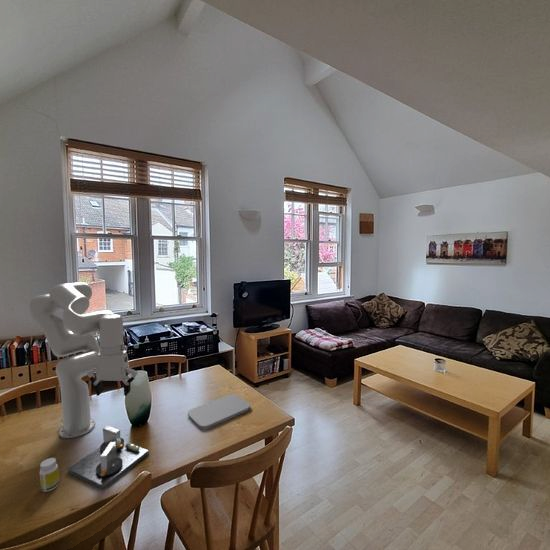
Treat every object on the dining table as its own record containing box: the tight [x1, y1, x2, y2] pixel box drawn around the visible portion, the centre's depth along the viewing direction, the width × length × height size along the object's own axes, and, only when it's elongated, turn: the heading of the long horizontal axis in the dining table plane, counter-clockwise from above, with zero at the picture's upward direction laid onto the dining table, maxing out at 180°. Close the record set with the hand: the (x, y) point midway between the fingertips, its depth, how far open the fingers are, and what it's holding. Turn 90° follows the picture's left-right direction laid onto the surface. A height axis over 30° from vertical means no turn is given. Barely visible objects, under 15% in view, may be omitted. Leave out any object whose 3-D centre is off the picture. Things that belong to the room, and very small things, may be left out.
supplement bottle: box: [39, 457, 60, 493], centre depth 97 cm, size 5×5×8 cm
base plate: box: [67, 440, 149, 491], centre depth 107 cm, size 18×18×3 cm
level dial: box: [96, 442, 123, 477], centre depth 102 cm, size 9×8×7 cm
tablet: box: [187, 393, 251, 430], centre depth 140 cm, size 16×26×2 cm, turn 131°
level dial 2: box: [99, 425, 125, 453], centre depth 113 cm, size 9×8×7 cm
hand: (113, 393), depth 111 cm, fingers open, 9 cm apart
